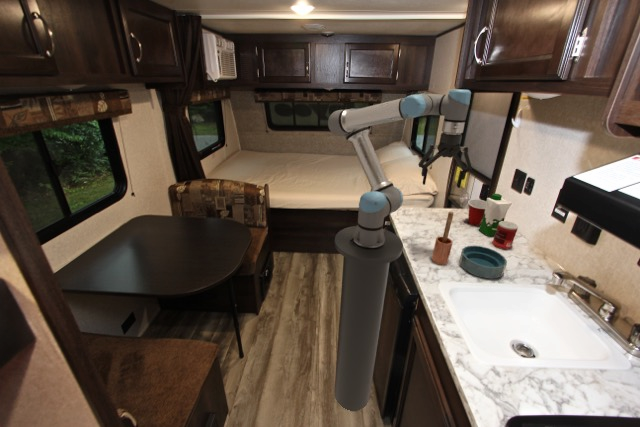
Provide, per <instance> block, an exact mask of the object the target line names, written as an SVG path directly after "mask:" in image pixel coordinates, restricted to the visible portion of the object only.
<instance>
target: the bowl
mask: <svg viewBox="0 0 640 427" xmlns="http://www.w3.org/2000/svg"><path fill="white" fill-rule="evenodd" d="M458 262H459V265H460V266H461V268H463V269H464V270H465V271H466V272H468V273H470V274H472V275H474V276H477V277H479V278H484V279H485V278H486V279H498V278H501V277H502V276H503V275H504V272H505V270H506V267H507V264H508V261H507V259H506V257H505V256H504V255H502V254H501V253H500V252H498V251H496V250H495V249H492V248H490V247H486V246H483V245H482V246H481V245H468V246H464V247H463V248H462V249H461V253H460V257H459V260H458Z"/></svg>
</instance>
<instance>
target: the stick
mask: <svg viewBox="0 0 640 427" xmlns="http://www.w3.org/2000/svg"><path fill="white" fill-rule="evenodd" d="M453 217H454V212H453V211H449V212H448V213H447V217H446V222H445V226H444V231H443V236H442V237H443V239H442V243H445V244H446V242H447V238H449V233H450V229H451V226H452V222H453Z"/></svg>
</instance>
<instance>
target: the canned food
mask: <svg viewBox="0 0 640 427" xmlns="http://www.w3.org/2000/svg"><path fill="white" fill-rule="evenodd" d="M518 228H519V226H518V225H517V224H516V223H514V222H511V221H508V220H504V221H501V222H499V224H498V227H497V230H496V233H495V236H493V240H492V244H493V246H494V247H496V248H498V249H501V250H510V249H511V248H512V246H513V243H514V240H515V237H516V234H517V232H518Z"/></svg>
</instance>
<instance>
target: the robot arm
mask: <svg viewBox="0 0 640 427" xmlns="http://www.w3.org/2000/svg"><path fill="white" fill-rule="evenodd" d="M471 95H472V92H471V90H470V89H458V88H457V89H455V88H454V89H453V88H452V89H449V91H448V94H441V93H440V94H438V93H430V92H429V93H428V92H426V93H417V94H416V93H415V94H411V95H408V96H406V97H403V98H402V97H401V98H398V99H394V100H390V101H386V102H382V103H378V104H373V105H368V106H364V107H361V108H355V107H353V108H348V109H338V110H335V111H333V112H332V113H331V114H330V115H329V117H328V119H327V127H328V129H329V132H331V133H332V134H333V135H335V136H337V137H345V139H346V142H347V143H350V144H351V145H352V147H353V149H354V151H355V154H356V157H357V159H358V161H359V163H360V165H361V168H362V170H363V173H364V174H365V177H366V180H367V182H368V184H369V186H370V191H366V192H364V193H363V194H361V196H360V198H359V202H358V212H357V213H358V214H357V224H356V226H357V227H356V230H355V232H354V234H353V238H352V239H351V240H350V242H352V241H353V243H354V244H355V245H357V246H359V247H361V248H364V249H378V248H381V247H383V246H384V244H385V237H384V232H385V230H386V229H385V228H384V220H385V218H386V217H387V216H389V215H391V214H393V213H396V212H397V211H398V210H399V209H400V208H401V207H402V205H403V203H404V195H403V193H402V190H400V189H399V188H397V187H396V186H394V183H393V182H392V181H390V180H388V177H387V175H386V173H385V171H384V169H383V166H382V164H381V162H380V159H379V158H378V155H377V152H376V150H375V148H374V145H373V143H372V142H371V139H370V137H369V133H370V129H369V127H371V126H376V125H382V124H387V123H391V122H397V121H402V120H408V119H413V118H414V119H415V118H419V117H425V116H442V117H443V116H444V117H443V123H442V126H441V127H442V128H441V134H440V138H439V142H438V145H436V144H433V143H431V144H430V145H429V148H428V150H427V151H426V153H425V154H424V155H423V157H422V158H421V159H420V161H419V162H418V167H419V168H421V173H420V174H421V177H422V185H423V186H425V185H426V182H427V176H428V172H429V170H428V168H429V167H430V166H431V165H432V164H433V163H434V162H435V161H437V160H438V159H440V158H441V157H442V158H450V159H451V158H453V157H454V160H456V162H457V164H458V165H459V167H460V168H461V170H459V173H458V178H457V182H456V187H457V189H460V188H461V185H462V181H464V180H465V179H466V175H467V173H468V172H472V171H473V167H472V163H471V160H470V156H469V147H468V146H467V145H464V146H461V143H462V142H461V141H462V138H463V133H464V129H465V124H466V119H467V115H468V111H469V107H470V104H471V103H470V101H471ZM436 150H437V152H436V153H435V154H434V155H433V156H432V157H431V158H429V157H430V156H431V155H432V154H433V152H434V151H436ZM460 151H461V153H462V154H463V157H464V161H465V165H466V167H465V165H464V163H463V161H462V160H461V158H460V157H459V155H458V153H459V152H460ZM383 231H384V232H383Z"/></svg>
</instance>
